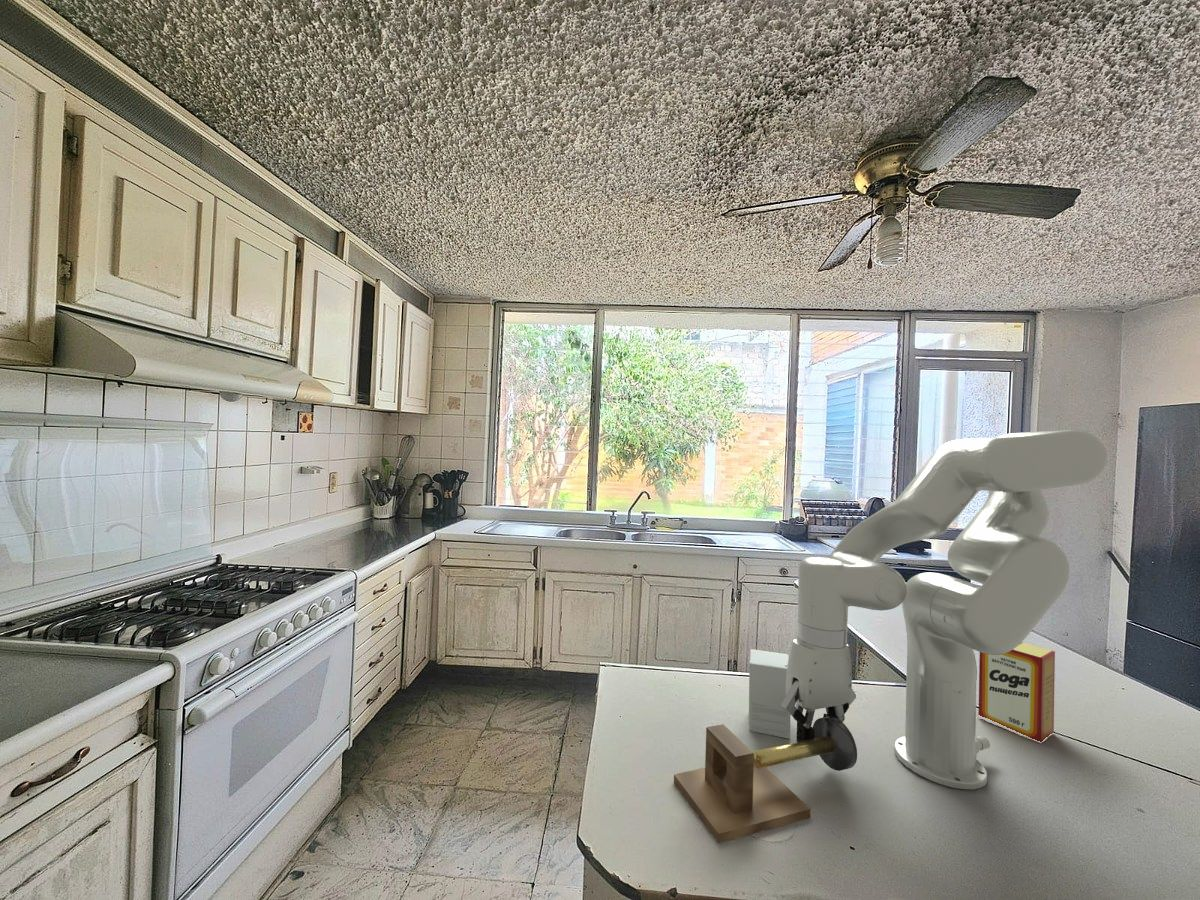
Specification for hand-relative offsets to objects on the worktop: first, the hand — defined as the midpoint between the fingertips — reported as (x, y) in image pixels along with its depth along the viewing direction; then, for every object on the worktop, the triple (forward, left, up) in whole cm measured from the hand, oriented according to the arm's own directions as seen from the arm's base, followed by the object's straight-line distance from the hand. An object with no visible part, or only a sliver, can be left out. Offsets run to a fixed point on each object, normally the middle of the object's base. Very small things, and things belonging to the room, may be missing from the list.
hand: (818, 744), depth 78 cm
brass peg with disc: (+6, +3, -2) cm, 7 cm away
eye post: (+17, +3, -3) cm, 17 cm away
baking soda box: (-47, +2, -4) cm, 47 cm away
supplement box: (0, -12, -4) cm, 13 cm away
